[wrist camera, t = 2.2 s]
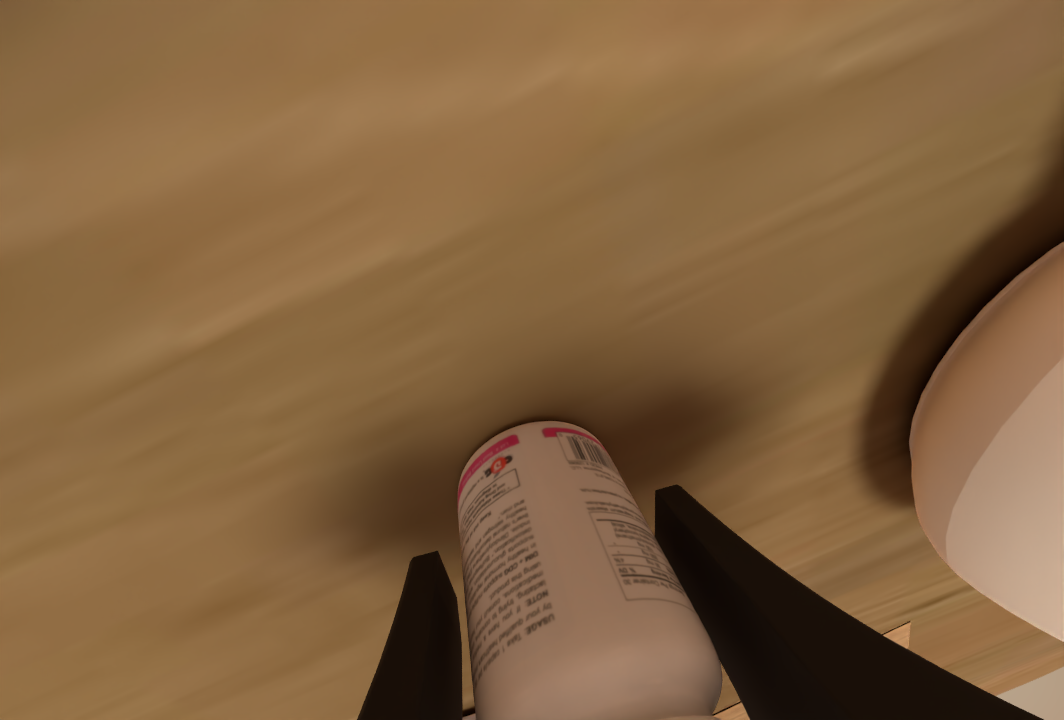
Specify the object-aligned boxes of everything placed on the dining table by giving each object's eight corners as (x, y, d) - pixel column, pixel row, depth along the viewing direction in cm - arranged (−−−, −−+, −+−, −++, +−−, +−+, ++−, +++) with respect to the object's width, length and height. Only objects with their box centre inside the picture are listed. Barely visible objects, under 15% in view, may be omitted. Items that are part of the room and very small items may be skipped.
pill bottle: (476, 548, 14) (527, 993, 7) (437, 441, 12) (452, 956, 4) (612, 508, 15) (792, 884, 7) (601, 396, 12) (856, 796, 5)
